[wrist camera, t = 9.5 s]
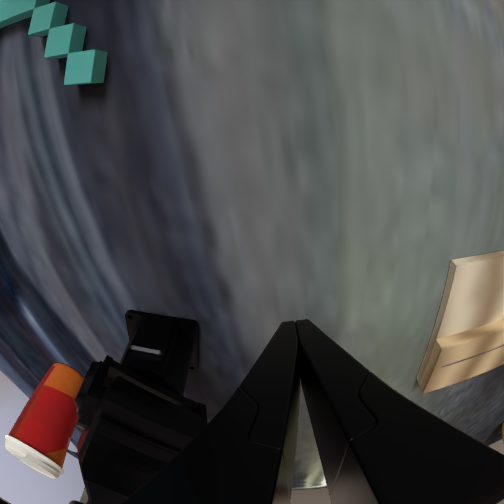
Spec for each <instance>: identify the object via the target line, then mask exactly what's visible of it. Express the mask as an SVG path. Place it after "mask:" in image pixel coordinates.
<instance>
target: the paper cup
mask: <svg viewBox="0 0 504 504" xmlns="http://www.w3.org/2000/svg"><path fill="white" fill-rule="evenodd" d="M83 381H84V377H83V376H82V375H81V374H80V373H79V372H77V371H76V370H75V369H73V368H72V367H70V366H68V365H66V364H63V363H54V364H53V365H52V366H51V367H50V369H49V370H48V372H47V373H46V374H45V376H44V377H43V379H42V380H41V382H40V383H39V385H38V386H37V388H36V390H35V391H34V393H33V394H32V396H31V398H30V399H29V401H28V402H27V404H26V406H25V407H24V409H23V411H22V412H21V414H20V416H19V417H18V419H17V421H16V423H15V424H14V426H13V428H12V430H11V431H10V433H9V435H5V439H6V442H5V448H6V449H7V450H8V451H9V452H10V453H12V454H13V455H14V456H15V457H16V458H17V459H19V460H21V461H22V462H23V463H24V464H26V465H28V466H29V467H31V468H32V469H34V470H36V471H38V472H40V473H42V474H44V475H46V476H48V477H51V478H53V479H57V478H58V477H59V475H60V474H62V473H64V471H63V469H62V467H63V463H64V460H65V456H66V452H67V449H68V446H69V443H70V440H71V436H72V433H73V430H74V427H75V424H76V421H77V418H78V416H77V412H78V410H77V407H76V405H75V402H74V400H75V398H76V396H77V393H78V391H79V389H80V387H81V385H82V383H83Z"/></svg>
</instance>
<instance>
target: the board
mask: <svg viewBox="0 0 504 504" xmlns="http://www.w3.org/2000/svg"><path fill="white" fill-rule="evenodd" d="M503 364H504V251H499V252H494V253H488V254H482V255H477V256H471V257H465V258H459V259H453V260H451V263H450V267H449V272H448V277H447V281H446V285H445V290H444V294H443V297H442V301H441V305H440V309H439V312H438V316H437V319H436V323H435V326H434V329H433V332H432V335H431V339H430V342H429V345H428V348H427V350H426V353H425V356H424V359H423V362H422V364H421V367H420V370H419V372H418V375H417V377H416V378H417V380H418V383H419V385H420V388H421V390H422V393H423V394H424V393H427V392H430V391H434V390H437V389H440V388H443V387H446V386H449V385H452V384H455V383H458V382H461V381H463V380H466V379H469V378H471V377H474V376H477V375H479V374H482V373H484V372H487V371H489V370H491V369H494V368H496V367H498V366H501V365H503Z"/></svg>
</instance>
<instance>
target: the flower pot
mask: <svg viewBox="0 0 504 504" xmlns="http://www.w3.org/2000/svg"><path fill="white" fill-rule="evenodd" d="M502 438H503V441H504V422H503V423H502Z"/></svg>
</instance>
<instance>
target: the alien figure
mask: <svg viewBox="0 0 504 504" xmlns="http://www.w3.org/2000/svg"><path fill="white" fill-rule="evenodd" d="M68 7H69V6H68V5H65V4H62V3H59V2H53V3H50V0H0V29H1V28H3V27H5V26H8V25H10V24H13V23H16V22H18V21H21V20H24V19H27V18H29V17H32V19H31V23H30V28H29V33H28V35H33V36H41V37H42V36H46V35H48V38H47V44H46V49H45V56H44V58H55V59H60V58H66V57H67V64H66V72H65V80H64V85H78V84H91V83H104V76H105V69H106V62H107V55H108V52H104V51H100V50H88V51H82V50H83V44H84V39H85V34H86V29H87V27H85V26H82V25H78V24H75V23H73V24H68V25H64V24H65V20H66V16H67V11H68Z"/></svg>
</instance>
